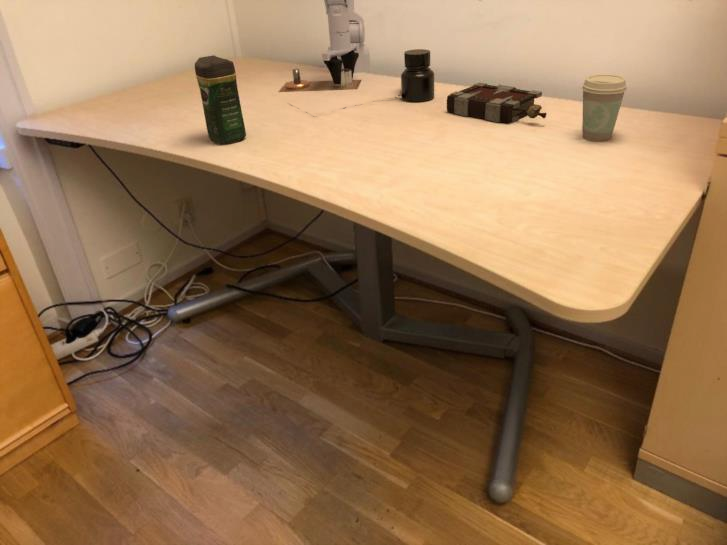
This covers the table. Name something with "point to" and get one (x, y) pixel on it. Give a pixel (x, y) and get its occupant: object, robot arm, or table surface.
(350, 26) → the robot arm
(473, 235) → the table surface
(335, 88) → the walnut board
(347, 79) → the steel collar
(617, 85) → the coffee cup
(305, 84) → the hub
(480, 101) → the book
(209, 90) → the coffee jar
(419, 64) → the ink bottle
